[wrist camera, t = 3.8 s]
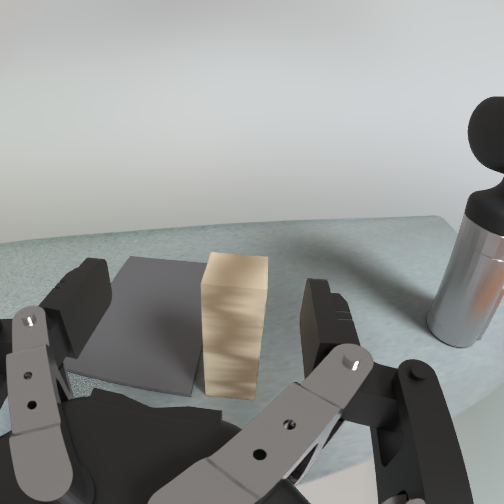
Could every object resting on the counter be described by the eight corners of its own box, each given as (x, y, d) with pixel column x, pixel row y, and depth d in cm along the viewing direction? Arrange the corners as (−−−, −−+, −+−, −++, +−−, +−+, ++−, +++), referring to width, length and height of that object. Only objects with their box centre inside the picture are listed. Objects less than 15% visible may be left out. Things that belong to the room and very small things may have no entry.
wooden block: (256, 365, 35) (268, 256, 29) (254, 399, 31) (267, 289, 24) (212, 360, 35) (211, 252, 29) (205, 395, 31) (200, 283, 24)
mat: (221, 267, 53) (221, 264, 53) (190, 396, 30) (190, 394, 30) (130, 258, 54) (130, 256, 53) (59, 368, 31) (57, 366, 30)
